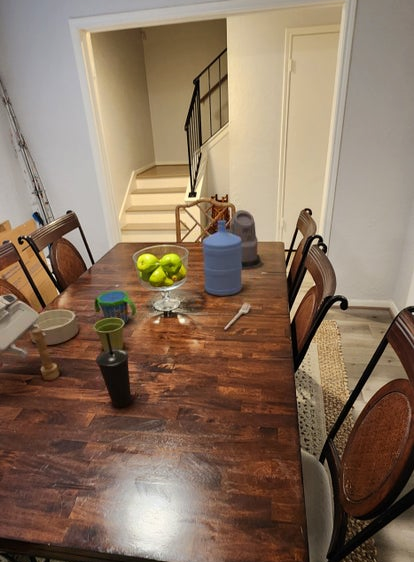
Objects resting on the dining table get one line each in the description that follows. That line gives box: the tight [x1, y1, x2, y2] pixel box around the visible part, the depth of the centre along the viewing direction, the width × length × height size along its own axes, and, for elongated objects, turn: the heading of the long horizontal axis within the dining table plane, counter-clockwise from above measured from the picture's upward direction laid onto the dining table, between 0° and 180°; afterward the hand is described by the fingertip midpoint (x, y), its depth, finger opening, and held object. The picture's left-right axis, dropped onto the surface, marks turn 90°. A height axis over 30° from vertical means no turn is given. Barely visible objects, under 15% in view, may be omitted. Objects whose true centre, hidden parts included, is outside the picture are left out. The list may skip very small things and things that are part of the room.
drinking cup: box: [95, 333, 132, 408], centre depth 90 cm, size 8×8×20 cm
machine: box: [226, 209, 263, 270], centre depth 183 cm, size 30×16×24 cm, turn 19°
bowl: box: [27, 308, 80, 346], centre depth 127 cm, size 16×16×6 cm
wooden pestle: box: [32, 328, 60, 381], centre depth 103 cm, size 4×4×15 cm
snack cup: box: [94, 290, 137, 324], centre depth 132 cm, size 16×10×10 cm
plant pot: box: [92, 318, 125, 352], centre depth 117 cm, size 9×9×9 cm
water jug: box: [202, 219, 243, 297], centre depth 150 cm, size 16×16×28 cm
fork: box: [224, 302, 252, 330], centre depth 133 cm, size 3×20×2 cm, turn 152°
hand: (35, 346), depth 102 cm, fingers open, 8 cm apart
